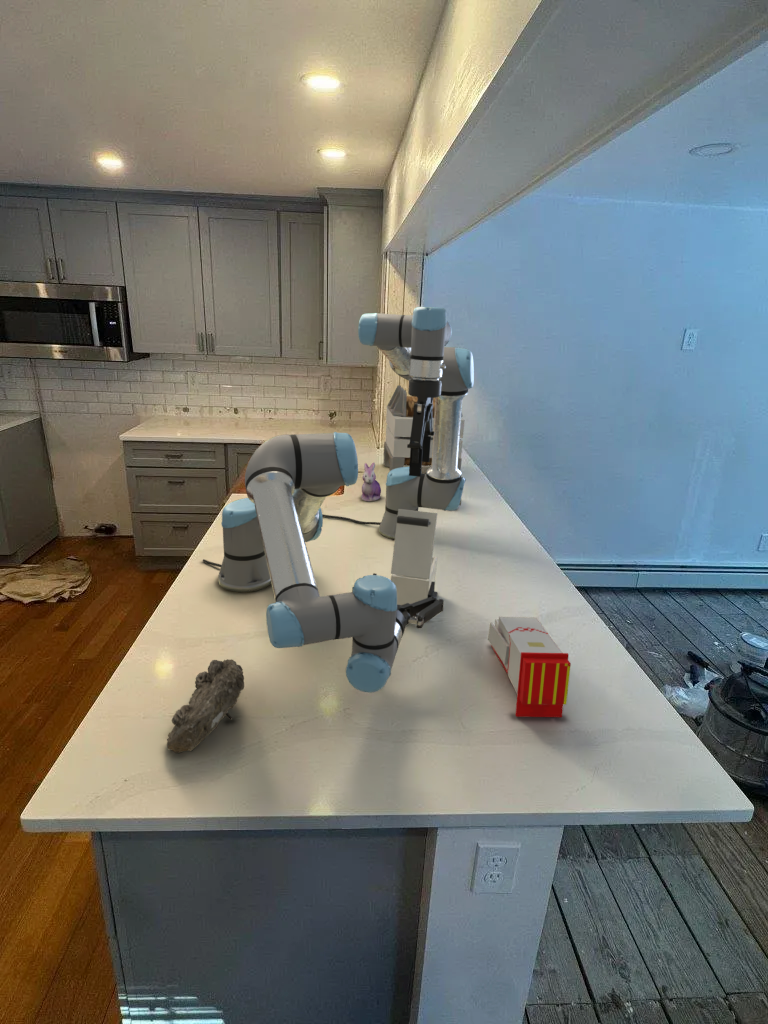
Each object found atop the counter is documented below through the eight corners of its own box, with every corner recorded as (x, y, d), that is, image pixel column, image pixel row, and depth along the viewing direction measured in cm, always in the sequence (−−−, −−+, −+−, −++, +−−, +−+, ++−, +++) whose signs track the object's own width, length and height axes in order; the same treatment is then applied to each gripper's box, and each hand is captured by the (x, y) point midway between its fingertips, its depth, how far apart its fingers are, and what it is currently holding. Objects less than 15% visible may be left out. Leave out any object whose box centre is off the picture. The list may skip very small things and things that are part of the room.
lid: (399, 509, 144) (393, 507, 135) (437, 513, 142) (434, 512, 134) (391, 573, 143) (385, 575, 135) (429, 578, 142) (426, 581, 133)
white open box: (400, 588, 161) (402, 552, 157) (434, 593, 159) (437, 556, 155) (388, 615, 147) (391, 576, 143) (426, 620, 145) (429, 581, 141)
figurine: (365, 503, 229) (367, 467, 224) (355, 495, 237) (356, 461, 232) (386, 500, 233) (388, 465, 228) (375, 493, 242) (376, 459, 237)
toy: (534, 602, 136) (579, 659, 107) (529, 653, 139) (572, 723, 110) (484, 601, 136) (516, 658, 107) (480, 652, 139) (510, 722, 109)
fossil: (192, 660, 117) (244, 628, 112) (224, 691, 120) (276, 661, 115) (142, 746, 98) (202, 712, 93) (182, 779, 101) (242, 748, 96)
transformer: (382, 463, 289) (386, 382, 275) (445, 464, 293) (451, 384, 279) (390, 482, 257) (394, 392, 243) (460, 483, 261) (468, 394, 247)
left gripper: (323, 637, 115) (350, 589, 134) (445, 657, 110) (456, 605, 130) (323, 605, 112) (351, 560, 131) (449, 624, 107) (459, 575, 127)
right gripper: (434, 386, 117) (427, 484, 124) (447, 374, 140) (441, 457, 147) (399, 383, 119) (394, 480, 126) (417, 372, 142) (412, 454, 149)
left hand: (403, 582), depth 131 cm, fingers open, 13 cm apart
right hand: (419, 468), depth 137 cm, fingers open, 13 cm apart
